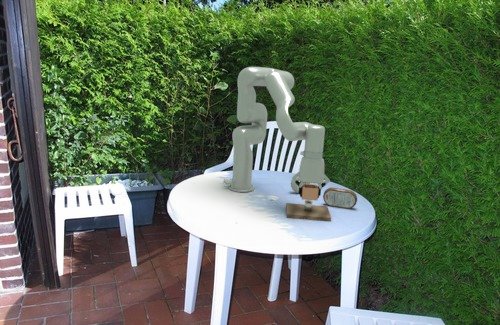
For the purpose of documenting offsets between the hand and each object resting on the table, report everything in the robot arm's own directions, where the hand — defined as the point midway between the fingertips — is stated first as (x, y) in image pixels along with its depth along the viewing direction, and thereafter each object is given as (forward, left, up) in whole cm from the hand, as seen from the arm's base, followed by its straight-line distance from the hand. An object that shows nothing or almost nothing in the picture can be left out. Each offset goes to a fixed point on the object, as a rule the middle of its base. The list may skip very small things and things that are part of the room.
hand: (309, 196), depth 164 cm
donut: (-2, +28, -8) cm, 29 cm away
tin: (+15, +12, -8) cm, 21 cm away
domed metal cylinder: (0, 0, -6) cm, 6 cm away
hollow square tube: (0, 0, -1) cm, 1 cm away
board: (0, 0, -8) cm, 8 cm away
